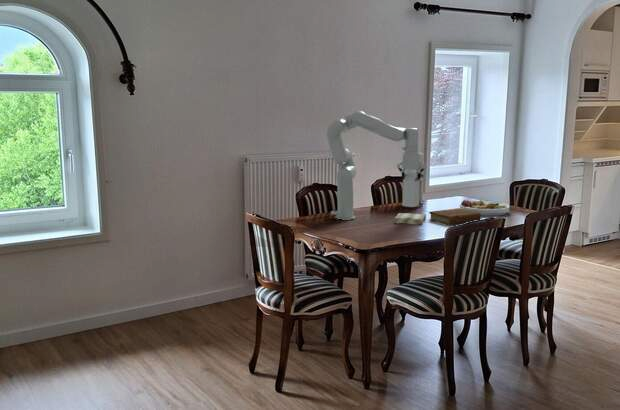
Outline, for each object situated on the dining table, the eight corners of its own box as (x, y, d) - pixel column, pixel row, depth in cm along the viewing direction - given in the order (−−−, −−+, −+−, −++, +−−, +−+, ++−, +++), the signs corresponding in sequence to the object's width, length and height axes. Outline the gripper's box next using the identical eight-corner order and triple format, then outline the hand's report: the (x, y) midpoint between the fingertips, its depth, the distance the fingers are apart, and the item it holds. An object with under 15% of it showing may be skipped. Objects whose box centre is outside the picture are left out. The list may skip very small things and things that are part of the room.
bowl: (503, 208, 398) (503, 196, 397) (514, 217, 369) (514, 204, 367) (456, 208, 401) (456, 196, 400) (463, 217, 372) (463, 204, 370)
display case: (401, 204, 416) (402, 152, 410) (416, 203, 418) (417, 152, 412) (407, 207, 405) (408, 154, 399) (422, 206, 407) (423, 154, 401)
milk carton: (413, 207, 353) (414, 174, 350) (402, 206, 358) (403, 173, 354) (418, 205, 359) (419, 173, 356) (408, 204, 363) (408, 172, 360)
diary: (450, 227, 346) (450, 217, 345) (428, 221, 362) (429, 211, 361) (480, 222, 357) (480, 212, 356) (458, 217, 373) (458, 207, 372)
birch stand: (394, 223, 355) (394, 218, 354) (398, 218, 370) (398, 213, 369) (422, 224, 350) (422, 219, 350) (425, 219, 365) (425, 214, 365)
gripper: (395, 150, 352) (395, 180, 355) (426, 150, 347) (425, 180, 350) (397, 148, 359) (397, 178, 362) (427, 149, 354) (426, 179, 357)
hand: (411, 179), depth 356 cm, fingers closed on milk carton, 8 cm apart
